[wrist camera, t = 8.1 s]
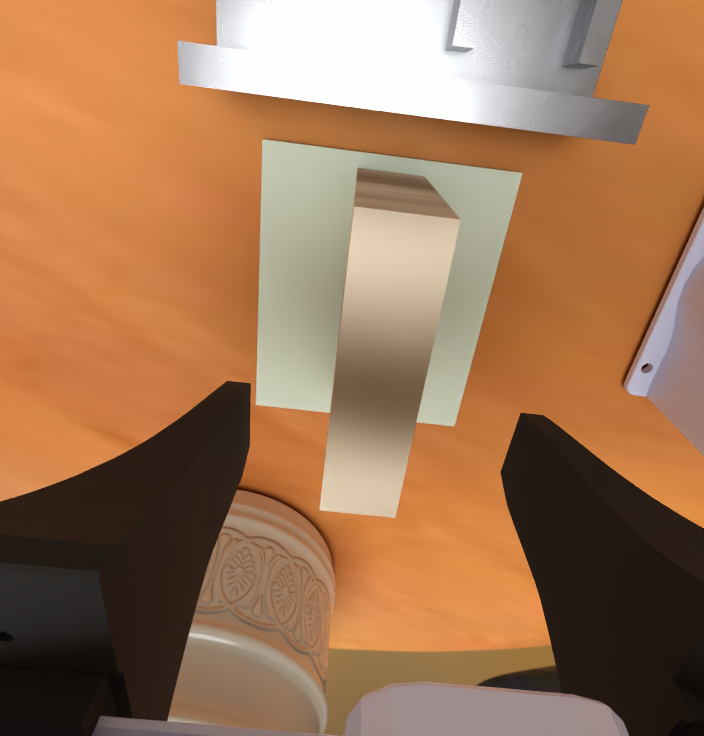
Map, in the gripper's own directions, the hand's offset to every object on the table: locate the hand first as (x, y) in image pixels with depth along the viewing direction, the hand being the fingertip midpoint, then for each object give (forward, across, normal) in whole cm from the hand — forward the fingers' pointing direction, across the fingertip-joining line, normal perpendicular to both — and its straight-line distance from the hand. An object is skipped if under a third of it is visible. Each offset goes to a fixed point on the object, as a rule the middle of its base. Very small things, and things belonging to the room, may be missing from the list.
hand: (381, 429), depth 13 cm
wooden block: (+10, 0, 0) cm, 10 cm away
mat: (+10, 0, 0) cm, 10 cm away
